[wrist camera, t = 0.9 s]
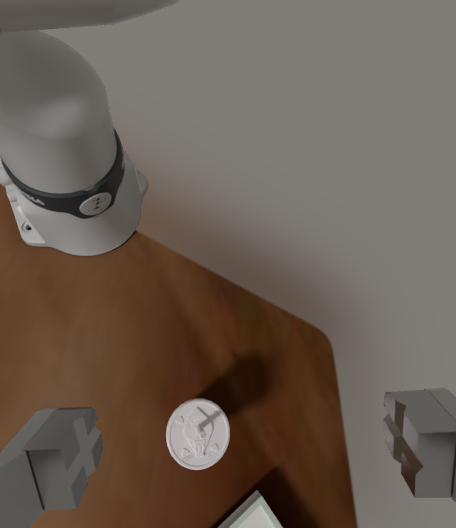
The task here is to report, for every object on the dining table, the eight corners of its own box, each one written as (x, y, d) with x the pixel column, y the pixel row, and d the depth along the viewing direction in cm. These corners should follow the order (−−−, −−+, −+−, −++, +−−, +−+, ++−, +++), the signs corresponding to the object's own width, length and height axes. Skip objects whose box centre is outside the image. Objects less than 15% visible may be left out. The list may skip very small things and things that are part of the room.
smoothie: (213, 390, 43) (235, 398, 30) (218, 445, 41) (244, 477, 28) (164, 397, 42) (164, 407, 29) (166, 453, 40) (168, 491, 27)
